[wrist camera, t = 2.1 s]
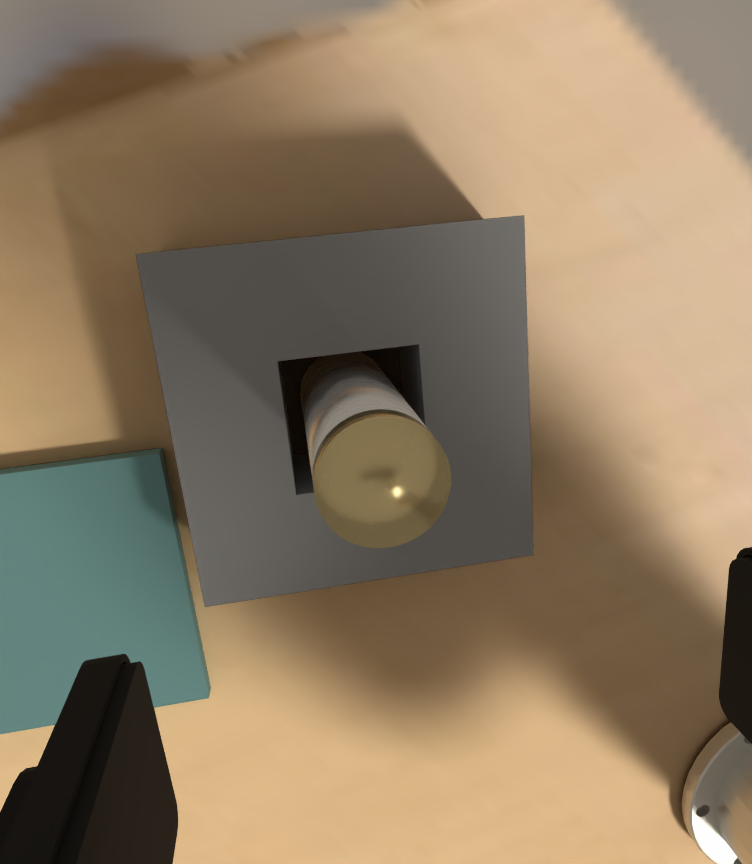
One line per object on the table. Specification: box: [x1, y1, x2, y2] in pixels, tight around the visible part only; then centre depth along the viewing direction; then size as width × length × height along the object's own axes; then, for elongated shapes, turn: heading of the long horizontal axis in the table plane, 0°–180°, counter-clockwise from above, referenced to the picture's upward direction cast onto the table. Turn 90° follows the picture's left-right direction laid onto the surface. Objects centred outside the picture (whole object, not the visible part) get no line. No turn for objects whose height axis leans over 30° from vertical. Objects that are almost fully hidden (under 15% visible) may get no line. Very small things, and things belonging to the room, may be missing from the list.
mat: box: [0, 448, 211, 734], centre depth 31 cm, size 13×13×1 cm
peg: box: [301, 352, 451, 548], centre depth 25 cm, size 4×4×12 cm
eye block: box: [136, 215, 533, 607], centre depth 28 cm, size 14×14×5 cm
